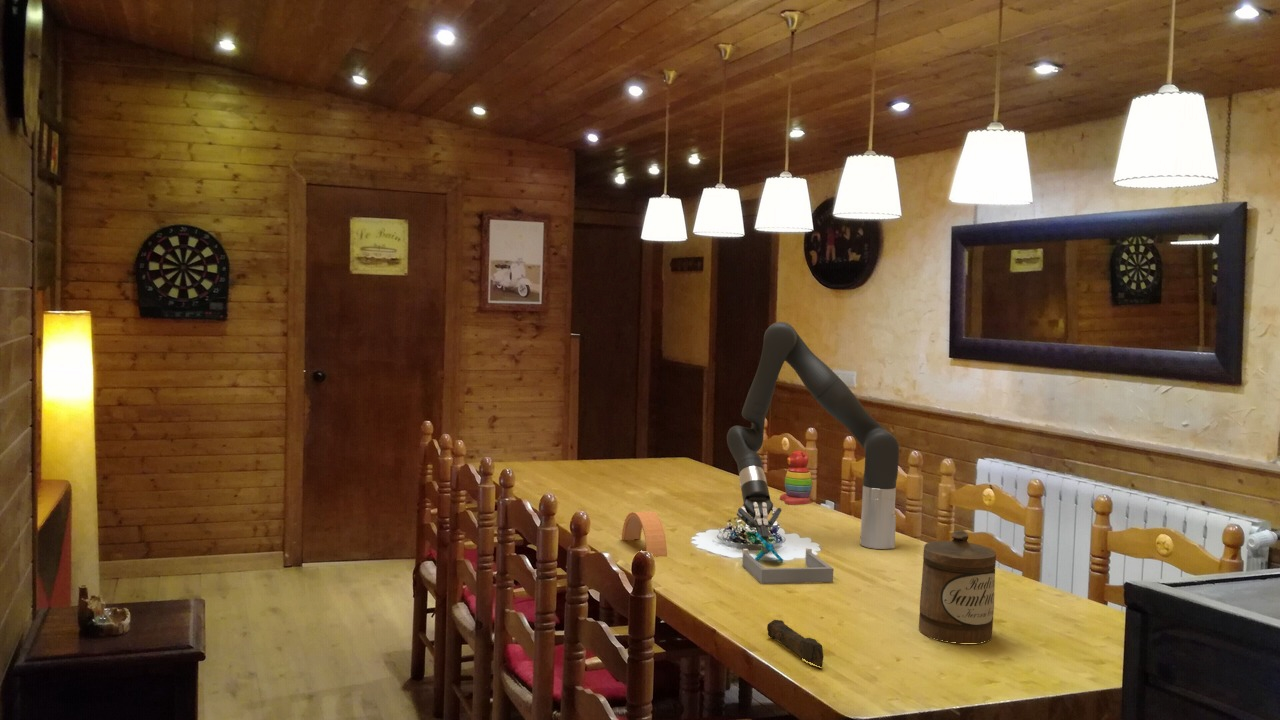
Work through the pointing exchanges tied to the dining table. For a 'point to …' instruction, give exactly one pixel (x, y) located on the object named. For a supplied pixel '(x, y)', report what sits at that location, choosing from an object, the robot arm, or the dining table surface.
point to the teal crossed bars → (766, 549)
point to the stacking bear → (797, 480)
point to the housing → (789, 570)
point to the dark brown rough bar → (796, 642)
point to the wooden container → (957, 590)
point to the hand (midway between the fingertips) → (764, 539)
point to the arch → (646, 531)
